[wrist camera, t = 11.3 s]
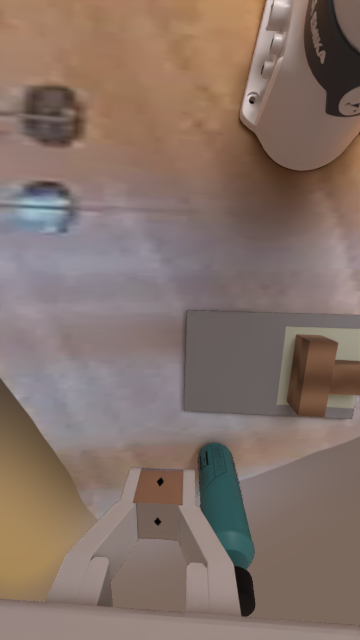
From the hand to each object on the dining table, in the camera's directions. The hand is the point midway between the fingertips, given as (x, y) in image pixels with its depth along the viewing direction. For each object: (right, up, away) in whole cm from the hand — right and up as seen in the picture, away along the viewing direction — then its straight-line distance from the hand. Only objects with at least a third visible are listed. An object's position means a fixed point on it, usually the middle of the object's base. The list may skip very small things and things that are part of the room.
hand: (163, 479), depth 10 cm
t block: (+25, -1, +26) cm, 36 cm away
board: (+16, 0, +27) cm, 32 cm away
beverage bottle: (+7, -17, +31) cm, 37 cm away
